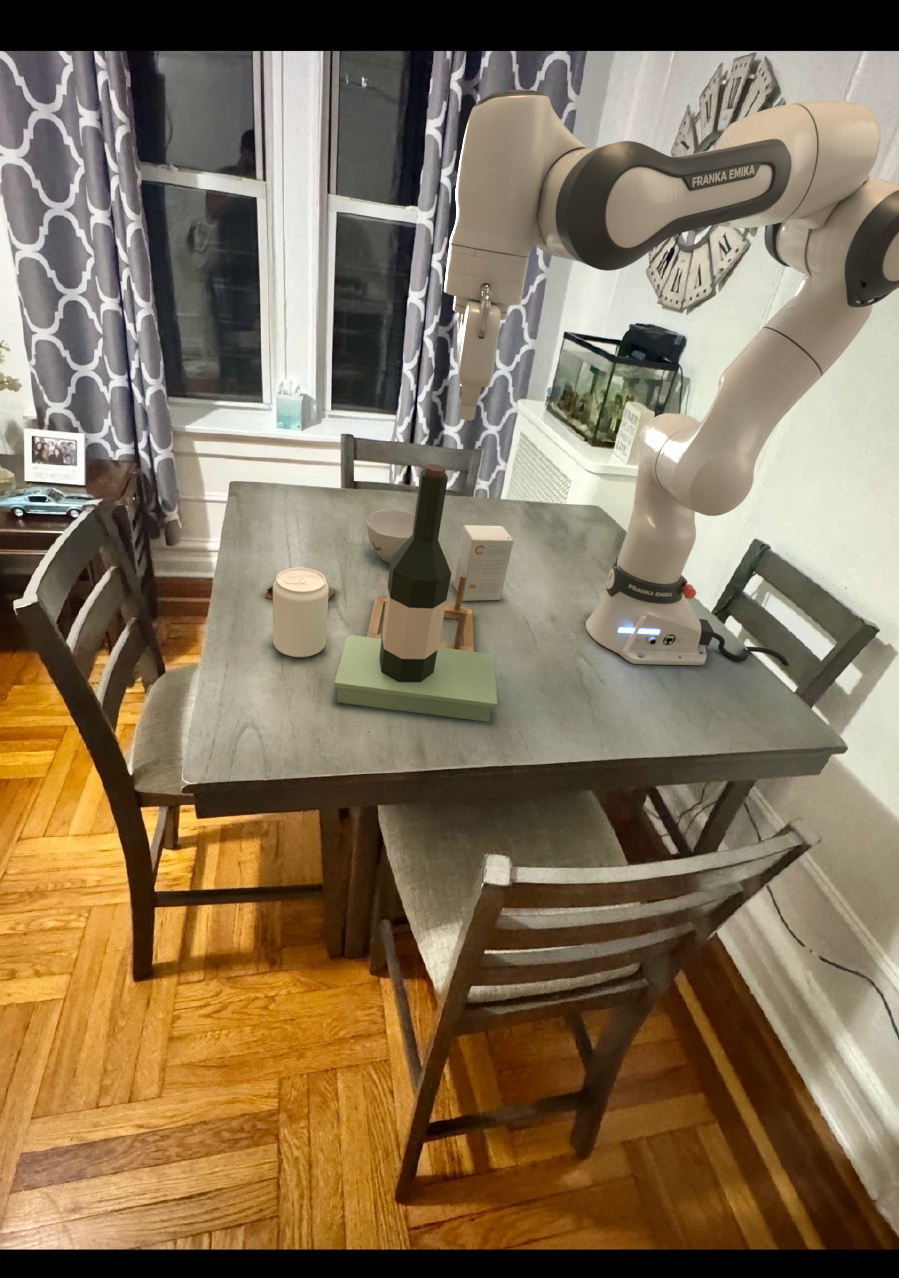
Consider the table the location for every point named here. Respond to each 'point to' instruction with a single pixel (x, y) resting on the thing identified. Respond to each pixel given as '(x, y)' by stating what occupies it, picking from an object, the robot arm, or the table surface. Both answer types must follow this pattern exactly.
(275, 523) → the table surface
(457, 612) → the dish rack
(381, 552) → the teacup
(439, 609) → the wine bottle
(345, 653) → the green low rectangular block
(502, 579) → the small box
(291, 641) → the beverage can
